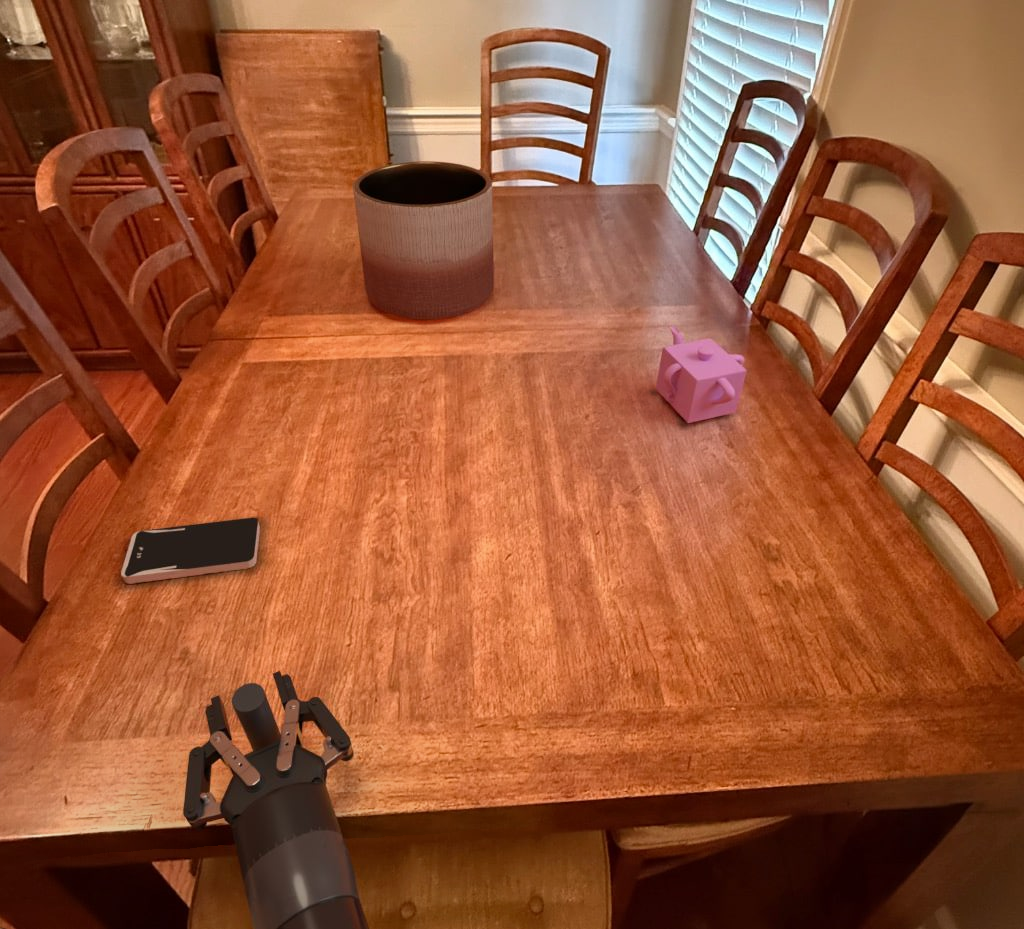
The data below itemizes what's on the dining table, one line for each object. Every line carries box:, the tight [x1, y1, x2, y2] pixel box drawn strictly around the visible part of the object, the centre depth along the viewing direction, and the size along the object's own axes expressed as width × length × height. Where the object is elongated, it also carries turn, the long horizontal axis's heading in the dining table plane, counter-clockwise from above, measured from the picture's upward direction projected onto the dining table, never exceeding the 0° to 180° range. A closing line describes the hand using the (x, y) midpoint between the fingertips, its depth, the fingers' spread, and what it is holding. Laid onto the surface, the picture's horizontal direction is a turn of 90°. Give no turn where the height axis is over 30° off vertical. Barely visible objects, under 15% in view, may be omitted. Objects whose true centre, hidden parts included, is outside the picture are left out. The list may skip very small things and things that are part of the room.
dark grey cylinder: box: [231, 682, 281, 751], centre depth 61 cm, size 3×3×12 cm
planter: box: [352, 160, 495, 321], centre depth 132 cm, size 25×25×22 cm
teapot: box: [655, 326, 748, 424], centre depth 108 cm, size 18×14×10 cm
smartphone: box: [120, 517, 261, 585], centre depth 85 cm, size 8×1×15 cm
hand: (248, 689), depth 64 cm, fingers open, 5 cm apart
